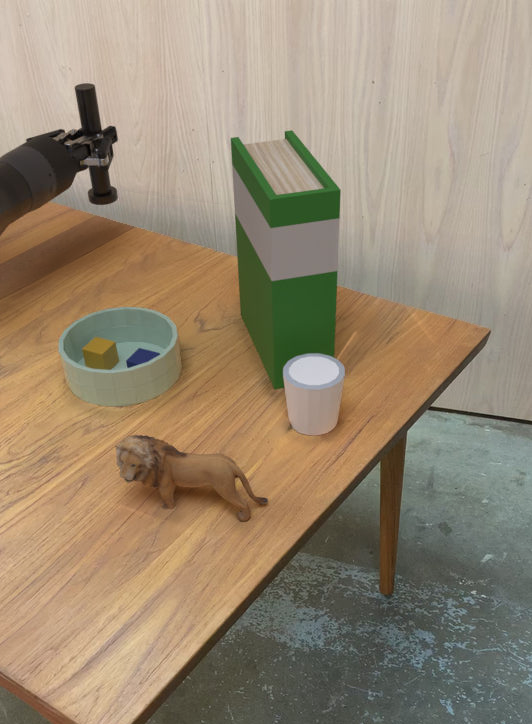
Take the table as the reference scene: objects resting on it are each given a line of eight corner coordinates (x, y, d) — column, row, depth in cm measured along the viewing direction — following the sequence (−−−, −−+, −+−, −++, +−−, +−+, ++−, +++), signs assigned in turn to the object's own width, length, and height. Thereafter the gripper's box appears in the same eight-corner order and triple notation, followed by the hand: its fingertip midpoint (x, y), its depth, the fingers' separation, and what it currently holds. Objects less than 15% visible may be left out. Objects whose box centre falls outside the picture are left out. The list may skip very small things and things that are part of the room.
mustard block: (86, 369, 98) (81, 348, 96) (99, 356, 100) (95, 336, 97) (106, 374, 97) (102, 354, 95) (119, 361, 99) (115, 341, 96)
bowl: (44, 393, 95) (33, 355, 91) (109, 334, 104) (102, 297, 101) (143, 422, 90) (137, 383, 87) (202, 357, 100) (198, 320, 96)
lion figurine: (122, 524, 79) (107, 458, 72) (129, 487, 82) (116, 421, 76) (268, 522, 78) (265, 455, 72) (268, 485, 82) (265, 419, 76)
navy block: (129, 380, 95) (125, 360, 93) (142, 367, 97) (139, 347, 95) (150, 386, 94) (147, 366, 92) (163, 373, 96) (160, 352, 94)
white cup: (277, 434, 88) (276, 384, 83) (290, 398, 93) (289, 349, 88) (337, 442, 87) (339, 392, 82) (347, 405, 92) (350, 355, 87)
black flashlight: (83, 202, 118) (62, 89, 107) (99, 190, 120) (80, 79, 109) (107, 207, 116) (88, 93, 105) (123, 195, 119) (106, 83, 108)
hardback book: (240, 318, 106) (230, 137, 90) (293, 309, 108) (292, 130, 91) (274, 393, 94) (269, 199, 77) (333, 382, 95) (340, 189, 79)
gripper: (69, 155, 98) (142, 110, 109) (-19, 139, 102) (60, 98, 114) (80, 212, 103) (148, 164, 114) (-4, 194, 108) (70, 150, 119)
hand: (104, 131), depth 114 cm, fingers closed on black flashlight, 3 cm apart
